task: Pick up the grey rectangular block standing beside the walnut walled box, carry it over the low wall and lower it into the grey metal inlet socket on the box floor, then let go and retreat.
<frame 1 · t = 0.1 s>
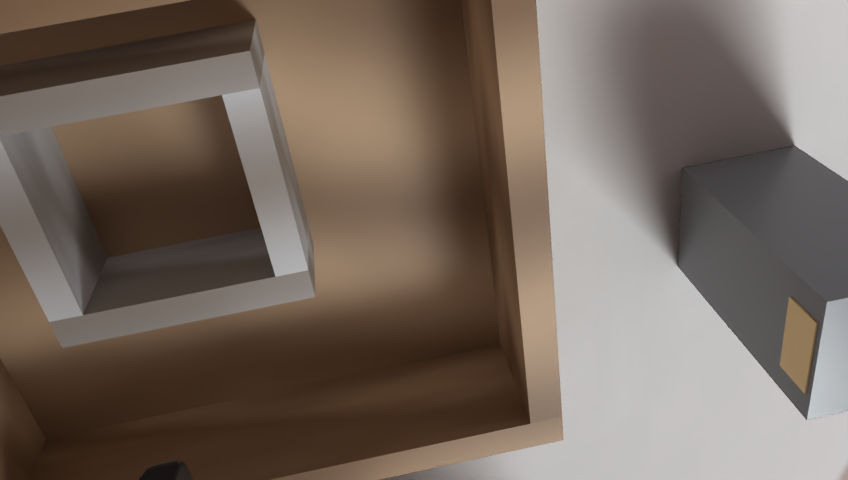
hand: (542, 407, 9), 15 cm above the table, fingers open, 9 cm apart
walled box: (223, 202, 23), on the table
grey rectangular block: (734, 208, 26), on the table
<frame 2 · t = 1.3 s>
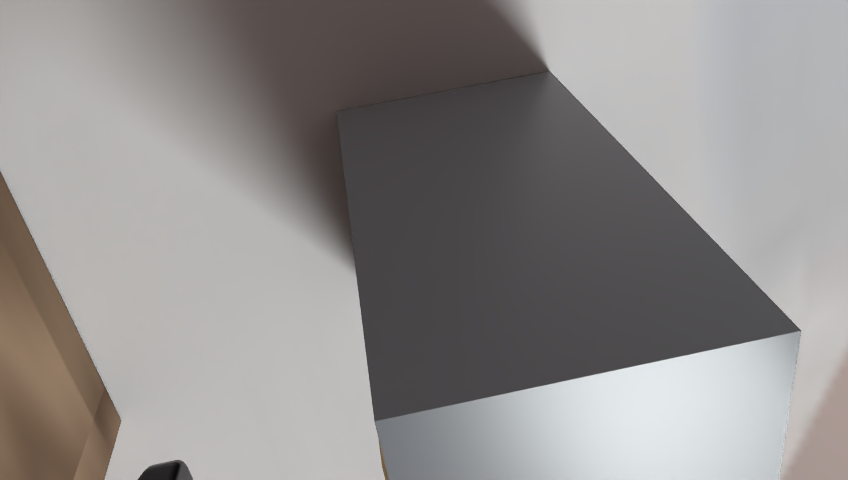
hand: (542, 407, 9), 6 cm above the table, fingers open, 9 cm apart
grey rectangular block: (456, 187, 15), on the table
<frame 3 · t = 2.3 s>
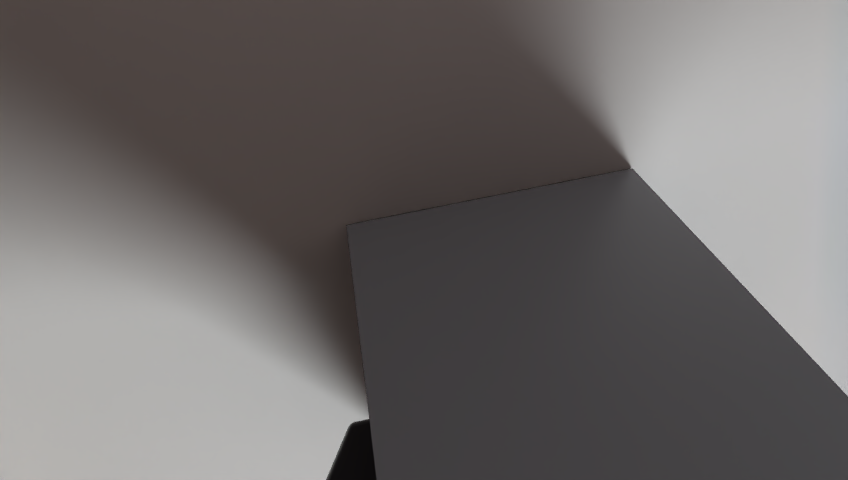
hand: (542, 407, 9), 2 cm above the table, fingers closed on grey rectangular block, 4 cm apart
grey rectangular block: (503, 313, 11), on the table, touching gripper
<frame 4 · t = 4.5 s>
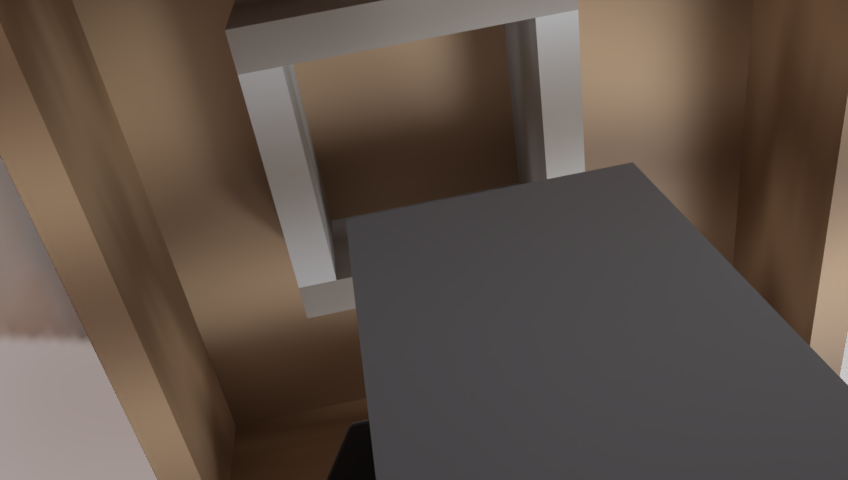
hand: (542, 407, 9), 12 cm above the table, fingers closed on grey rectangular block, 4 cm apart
walled box: (452, 159, 21), on the table
grey rectangular block: (503, 308, 11), point 10 cm above the table, touching gripper
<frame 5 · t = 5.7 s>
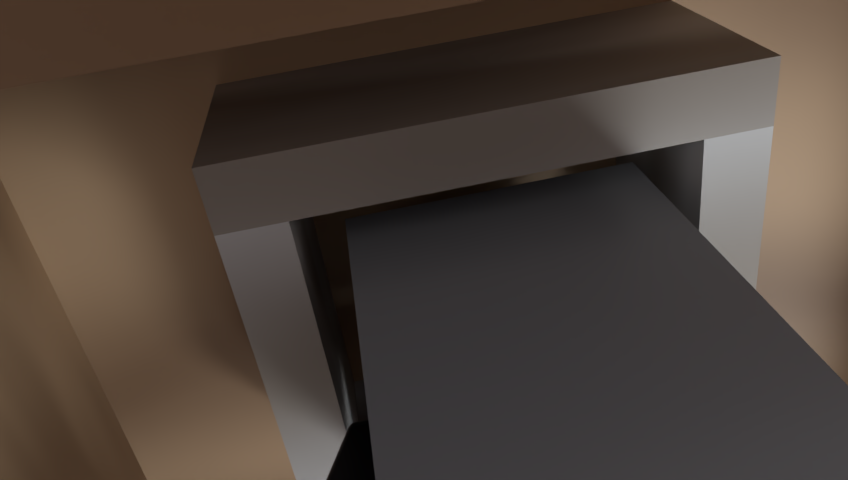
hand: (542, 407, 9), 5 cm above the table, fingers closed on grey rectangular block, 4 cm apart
walled box: (521, 289, 15), on the table
grey rectangular block: (503, 308, 11), point 3 cm above the table, touching gripper
when the fingers open (5 cm above the table, at t = 6.5 s): grey rectangular block drops 2 cm, resting on walled box.
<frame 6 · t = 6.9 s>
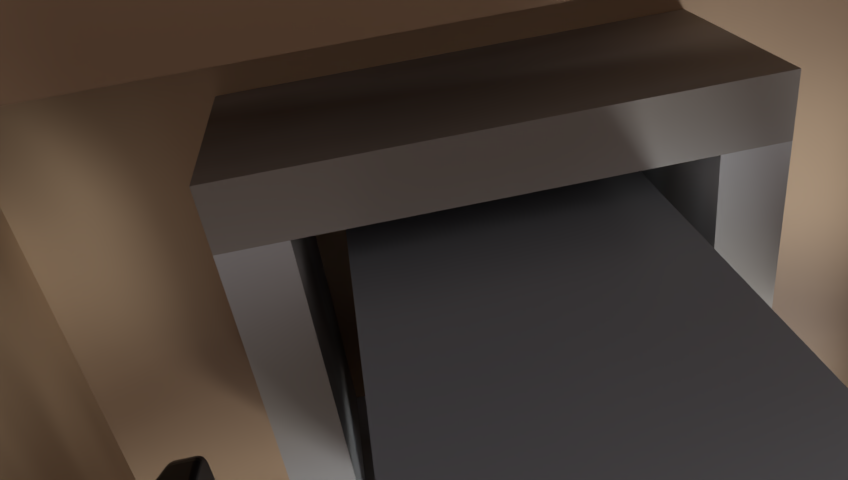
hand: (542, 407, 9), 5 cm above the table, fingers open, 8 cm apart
walled box: (528, 302, 15), on the table
grey rectangular block: (479, 250, 13), point 1 cm above the table, touching walled box
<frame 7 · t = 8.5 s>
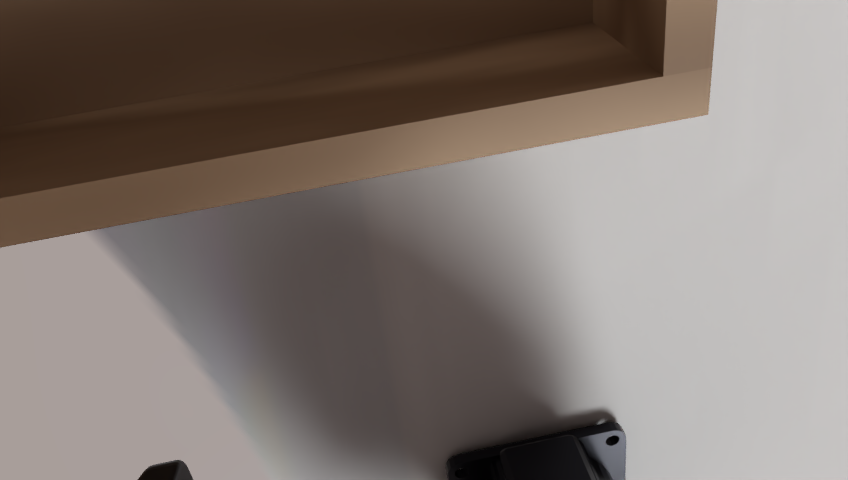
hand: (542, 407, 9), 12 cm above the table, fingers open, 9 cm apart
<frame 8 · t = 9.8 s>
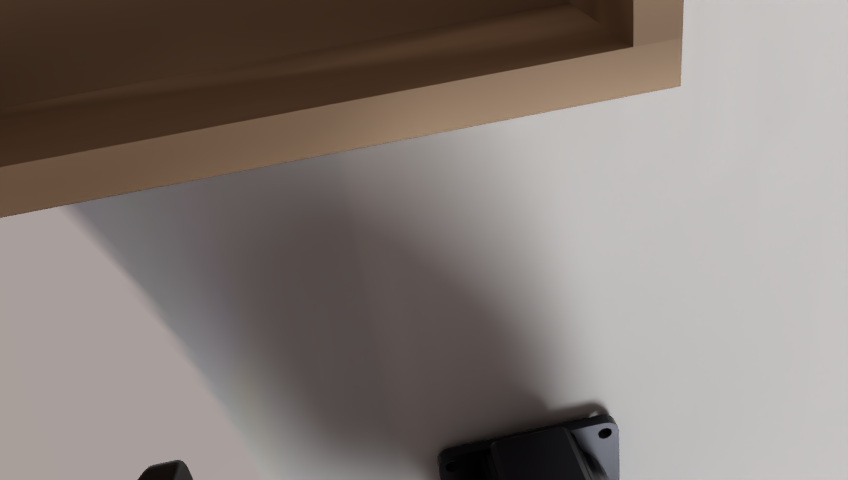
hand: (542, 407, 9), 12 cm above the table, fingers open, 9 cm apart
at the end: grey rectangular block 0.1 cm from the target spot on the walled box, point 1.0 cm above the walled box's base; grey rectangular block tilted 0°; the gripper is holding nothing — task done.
